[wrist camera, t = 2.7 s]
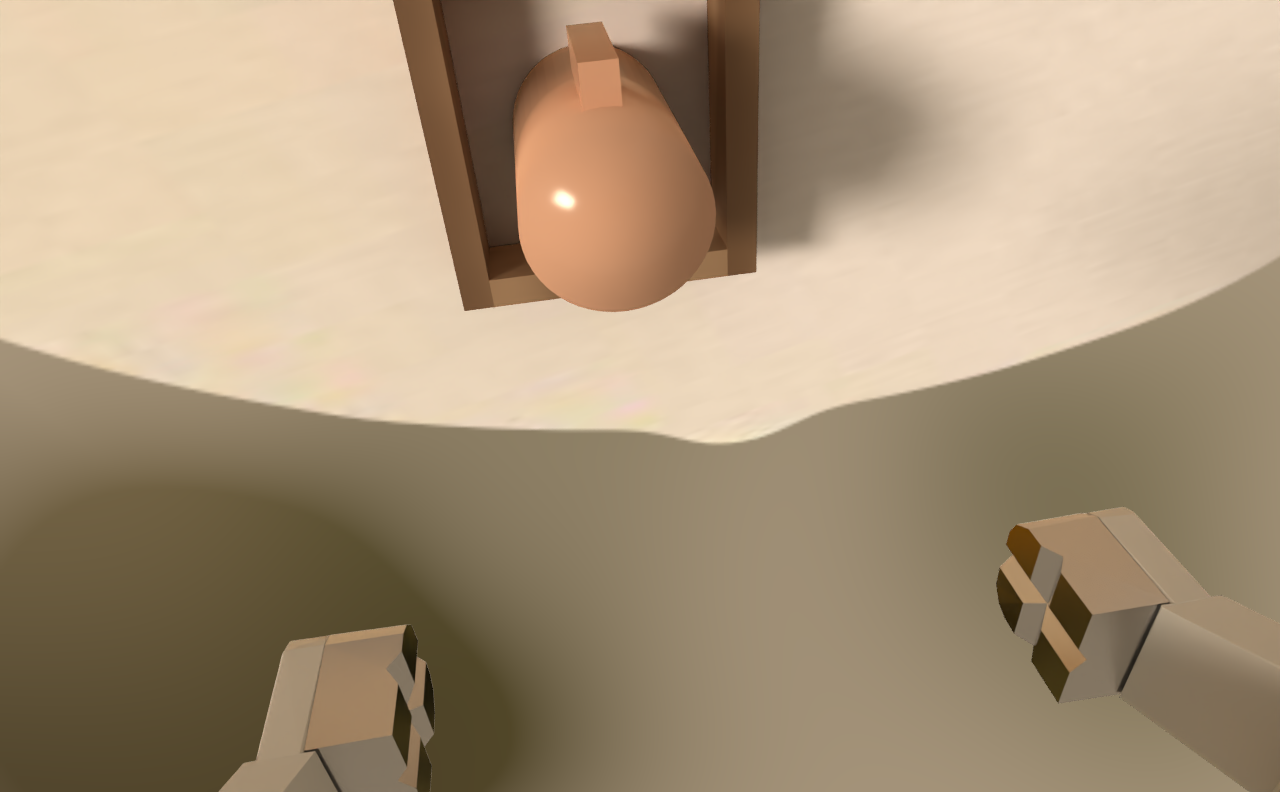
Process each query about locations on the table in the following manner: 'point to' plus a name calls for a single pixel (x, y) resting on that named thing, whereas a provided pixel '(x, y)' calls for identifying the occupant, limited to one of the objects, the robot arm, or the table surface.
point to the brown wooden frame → (505, 268)
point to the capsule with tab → (606, 179)
